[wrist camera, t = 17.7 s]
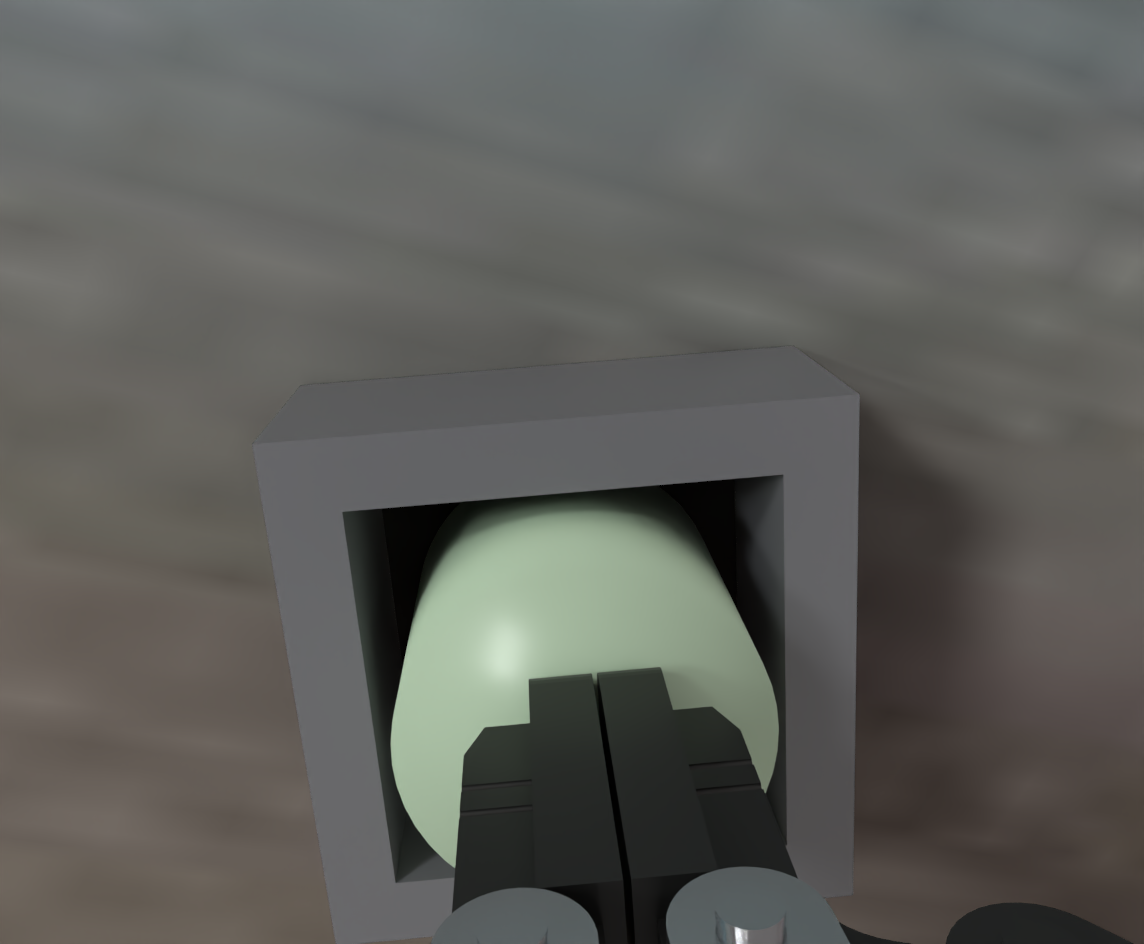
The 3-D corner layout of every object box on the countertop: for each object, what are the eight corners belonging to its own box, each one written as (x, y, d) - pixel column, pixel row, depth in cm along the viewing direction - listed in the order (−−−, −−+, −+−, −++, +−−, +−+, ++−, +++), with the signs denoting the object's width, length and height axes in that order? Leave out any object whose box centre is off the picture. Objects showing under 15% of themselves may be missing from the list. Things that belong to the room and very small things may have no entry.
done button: (435, 742, 16) (413, 924, 13) (402, 472, 15) (366, 584, 11) (718, 716, 17) (780, 889, 13) (710, 446, 15) (776, 549, 11)
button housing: (365, 810, 17) (336, 945, 14) (300, 385, 15) (251, 444, 12) (796, 770, 17) (852, 894, 14) (793, 345, 15) (859, 394, 12)
